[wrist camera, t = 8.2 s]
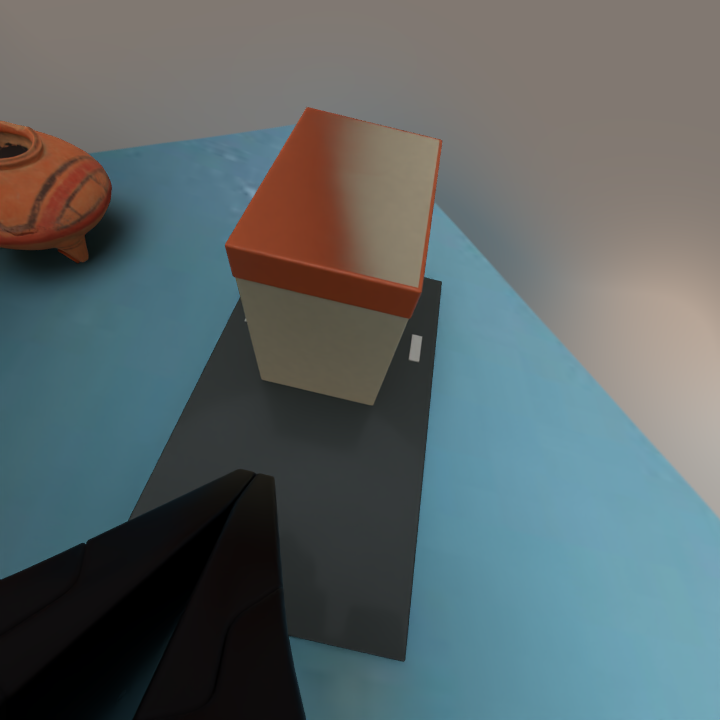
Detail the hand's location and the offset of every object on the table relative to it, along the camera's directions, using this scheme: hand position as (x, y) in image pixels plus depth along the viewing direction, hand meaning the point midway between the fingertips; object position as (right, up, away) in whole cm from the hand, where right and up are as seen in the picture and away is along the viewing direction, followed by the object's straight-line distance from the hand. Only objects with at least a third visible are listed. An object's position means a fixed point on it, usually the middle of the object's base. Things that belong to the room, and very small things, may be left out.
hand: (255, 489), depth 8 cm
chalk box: (+1, +5, +12) cm, 13 cm away
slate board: (0, +1, +11) cm, 11 cm away
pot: (-16, +11, +14) cm, 24 cm away
